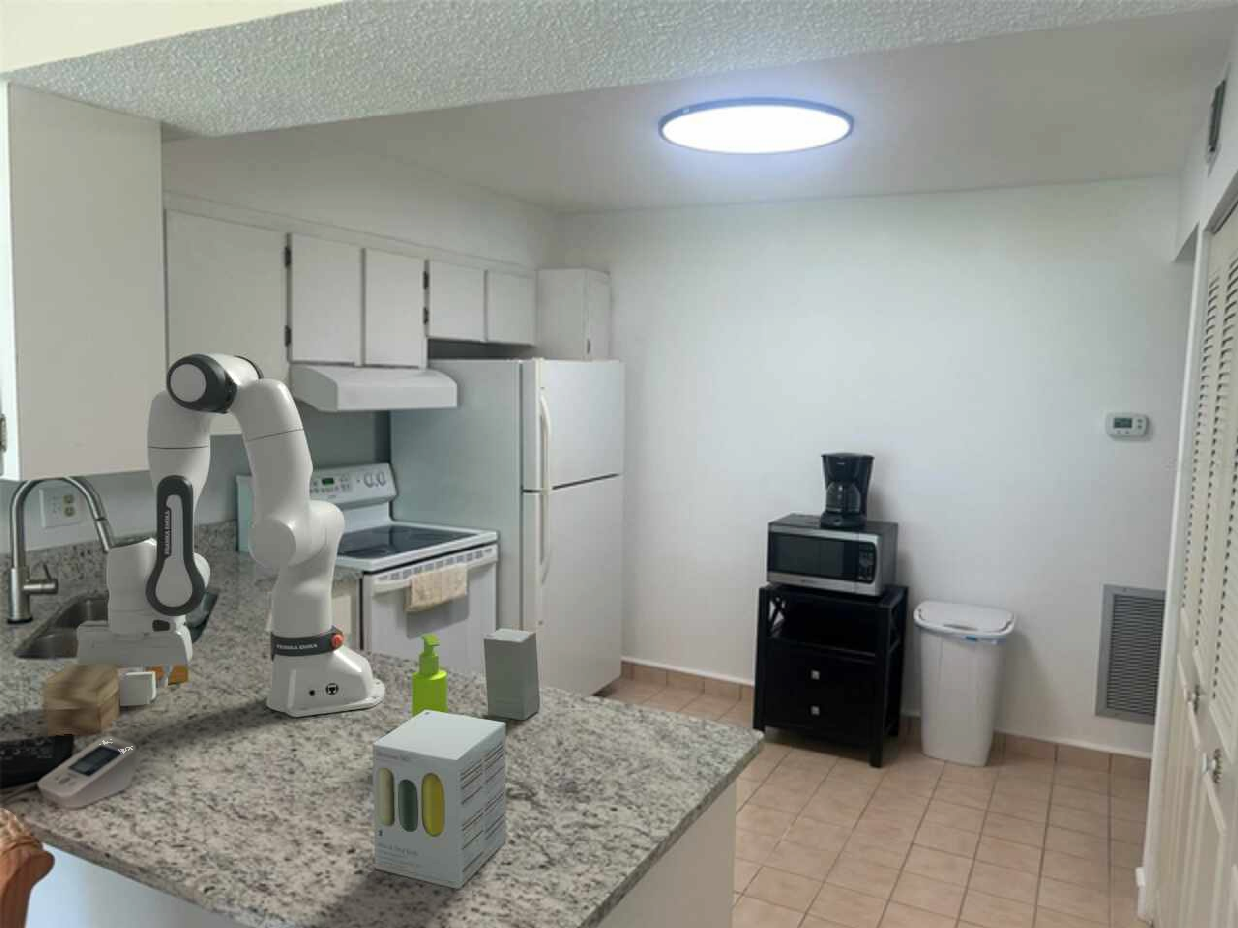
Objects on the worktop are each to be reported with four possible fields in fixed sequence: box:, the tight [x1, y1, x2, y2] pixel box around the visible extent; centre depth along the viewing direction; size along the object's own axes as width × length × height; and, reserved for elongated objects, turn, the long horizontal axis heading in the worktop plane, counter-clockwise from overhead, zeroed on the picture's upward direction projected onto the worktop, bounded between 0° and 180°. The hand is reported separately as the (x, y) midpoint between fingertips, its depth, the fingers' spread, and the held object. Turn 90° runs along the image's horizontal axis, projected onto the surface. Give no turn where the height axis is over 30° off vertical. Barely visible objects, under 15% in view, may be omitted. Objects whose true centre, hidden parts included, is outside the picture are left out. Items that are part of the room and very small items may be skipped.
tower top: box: [41, 664, 119, 711], centre depth 164 cm, size 9×9×5 cm
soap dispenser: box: [411, 633, 448, 718], centre depth 155 cm, size 6×7×20 cm
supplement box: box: [371, 710, 507, 890], centre depth 121 cm, size 13×13×18 cm
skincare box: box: [483, 627, 541, 721], centre depth 171 cm, size 8×7×16 cm
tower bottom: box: [44, 690, 120, 737], centre depth 164 cm, size 9×9×5 cm
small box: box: [142, 619, 190, 687], centre depth 187 cm, size 8×6×13 cm
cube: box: [118, 671, 157, 707], centre depth 176 cm, size 5×5×5 cm
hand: (137, 687), depth 177 cm, fingers open, 8 cm apart
